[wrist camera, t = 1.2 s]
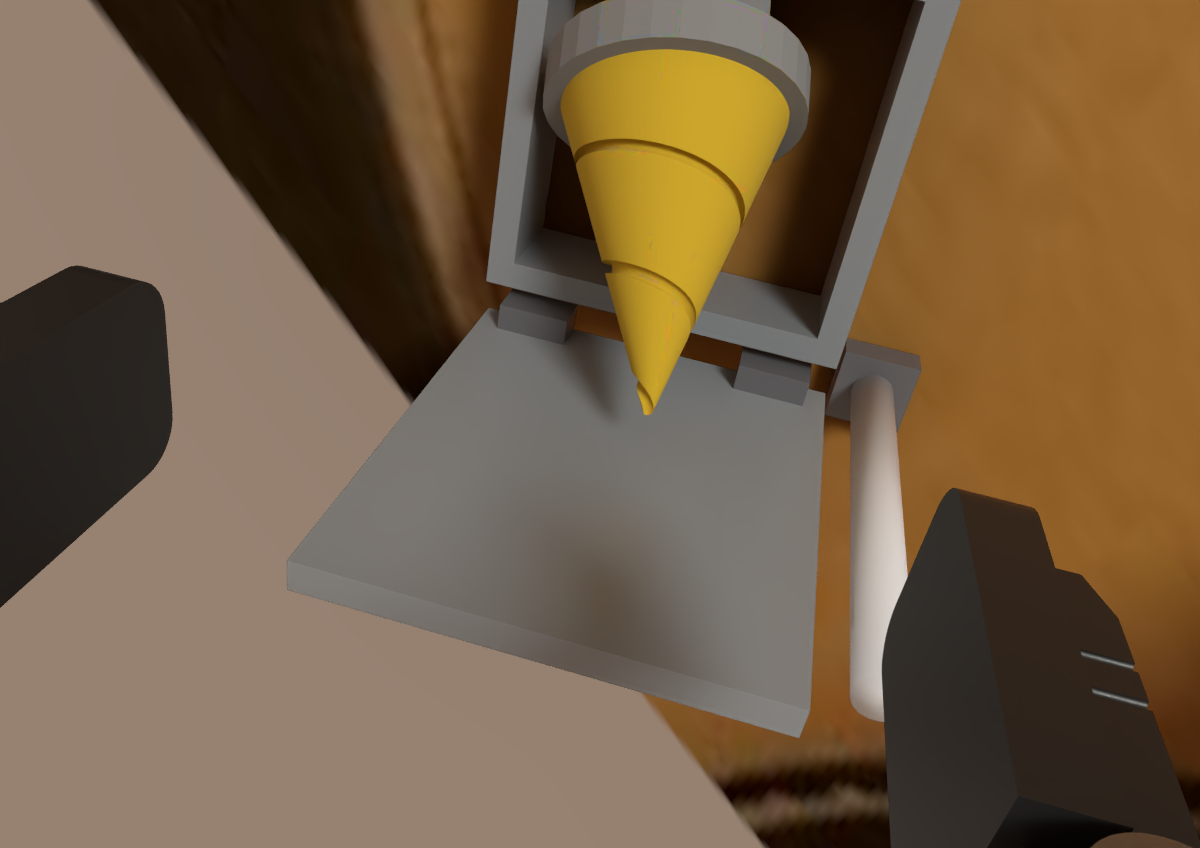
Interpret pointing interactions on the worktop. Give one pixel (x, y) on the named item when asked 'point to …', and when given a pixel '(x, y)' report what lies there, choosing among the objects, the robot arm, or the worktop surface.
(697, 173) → the drill bit
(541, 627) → the case
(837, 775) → the worktop surface
